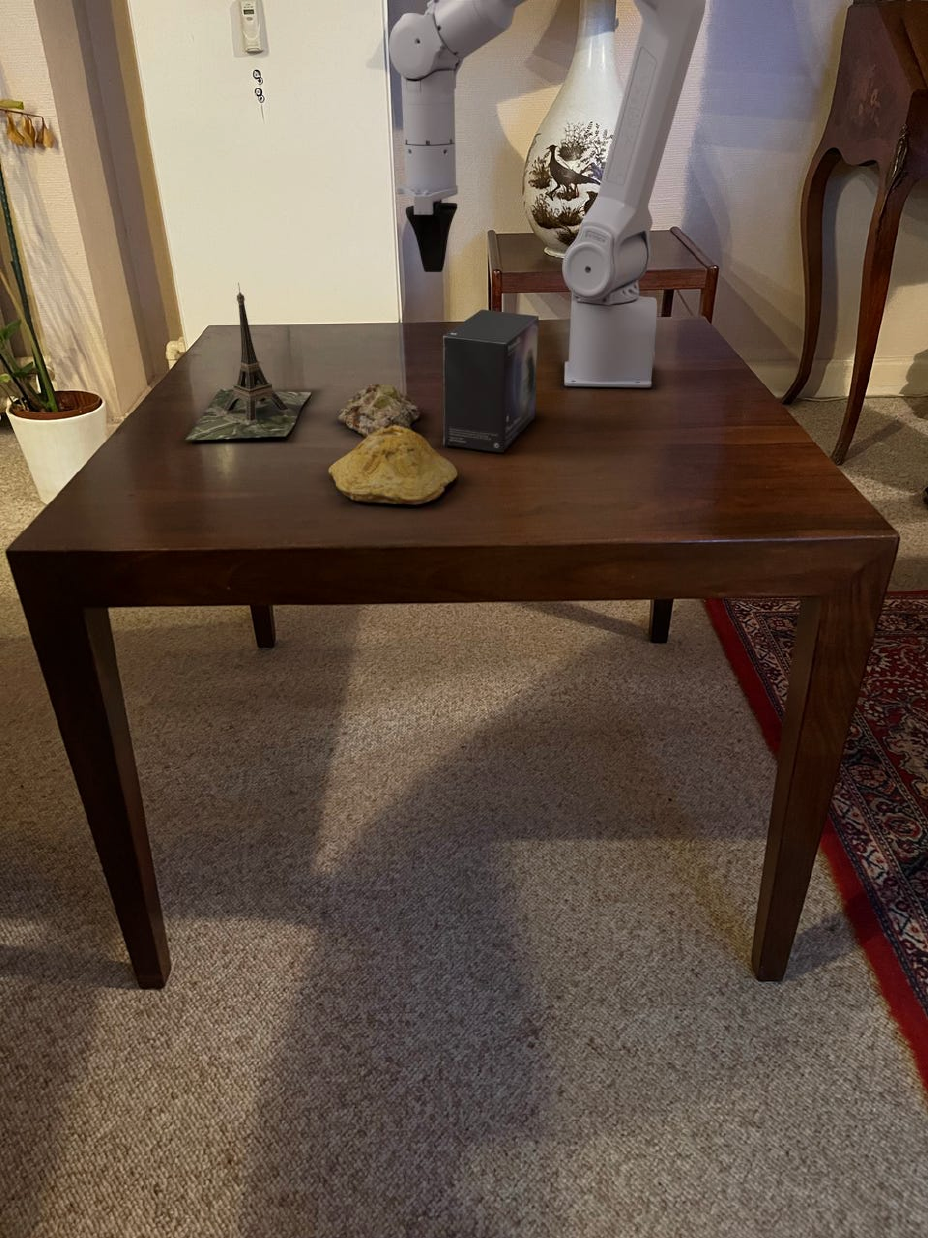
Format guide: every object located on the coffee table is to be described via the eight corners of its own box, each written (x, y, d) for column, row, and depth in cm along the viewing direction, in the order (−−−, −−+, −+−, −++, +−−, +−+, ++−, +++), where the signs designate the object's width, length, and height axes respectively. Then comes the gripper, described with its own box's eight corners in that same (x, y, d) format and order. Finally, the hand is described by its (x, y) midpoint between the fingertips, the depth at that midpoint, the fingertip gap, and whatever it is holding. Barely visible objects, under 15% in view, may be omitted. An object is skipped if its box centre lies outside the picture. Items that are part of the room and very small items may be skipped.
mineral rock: (326, 389, 96) (399, 362, 96) (341, 427, 98) (412, 399, 99) (343, 428, 87) (423, 398, 87) (359, 468, 90) (436, 438, 90)
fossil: (311, 429, 75) (363, 393, 83) (302, 493, 78) (352, 452, 87) (436, 477, 73) (476, 435, 82) (421, 540, 77) (461, 494, 85)
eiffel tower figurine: (220, 393, 102) (199, 266, 95) (311, 392, 102) (298, 265, 95) (185, 444, 90) (159, 301, 83) (290, 442, 90) (273, 300, 83)
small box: (506, 455, 86) (508, 341, 81) (441, 447, 88) (438, 335, 83) (538, 418, 95) (542, 312, 89) (478, 411, 96) (478, 307, 91)
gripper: (404, 137, 110) (409, 258, 117) (383, 150, 98) (390, 284, 105) (463, 136, 109) (464, 258, 117) (449, 149, 97) (452, 284, 104)
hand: (433, 270), depth 111 cm, fingers closed
